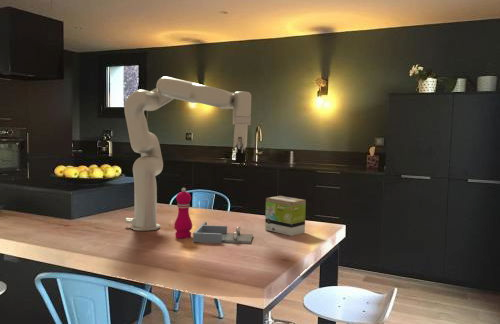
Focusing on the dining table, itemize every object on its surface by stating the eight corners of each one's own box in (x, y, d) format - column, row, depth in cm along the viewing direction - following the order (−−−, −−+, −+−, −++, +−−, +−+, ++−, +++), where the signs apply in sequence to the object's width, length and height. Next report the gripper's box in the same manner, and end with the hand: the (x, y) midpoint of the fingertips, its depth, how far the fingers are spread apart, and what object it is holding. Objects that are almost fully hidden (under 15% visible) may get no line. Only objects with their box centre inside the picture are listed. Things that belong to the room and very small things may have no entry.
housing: (193, 242, 173) (193, 233, 173) (204, 229, 196) (204, 221, 195) (221, 243, 172) (221, 234, 172) (229, 230, 195) (229, 222, 195)
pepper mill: (188, 239, 178) (189, 189, 177) (171, 238, 179) (171, 188, 178) (194, 235, 185) (195, 187, 184) (177, 234, 186) (178, 186, 185)
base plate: (219, 242, 174) (219, 232, 173) (224, 235, 186) (224, 225, 185) (250, 243, 173) (250, 233, 172) (252, 236, 185) (253, 227, 184)
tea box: (264, 230, 197) (264, 197, 196) (278, 227, 204) (279, 195, 203) (291, 236, 187) (292, 201, 186) (305, 232, 194) (306, 199, 193)
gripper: (235, 121, 197) (233, 160, 198) (230, 120, 180) (229, 162, 181) (252, 122, 197) (250, 161, 198) (248, 121, 179) (247, 163, 181)
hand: (240, 161), depth 189 cm, fingers open, 9 cm apart
